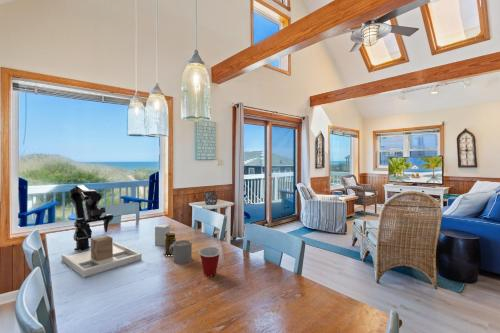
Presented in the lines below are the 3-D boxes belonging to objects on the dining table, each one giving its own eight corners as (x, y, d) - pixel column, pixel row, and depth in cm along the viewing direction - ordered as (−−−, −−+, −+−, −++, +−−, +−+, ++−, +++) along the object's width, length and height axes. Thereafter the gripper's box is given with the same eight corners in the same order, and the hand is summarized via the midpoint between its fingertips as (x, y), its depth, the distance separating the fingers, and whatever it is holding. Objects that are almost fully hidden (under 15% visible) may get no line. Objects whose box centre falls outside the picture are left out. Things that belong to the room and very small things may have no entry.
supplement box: (164, 246, 166) (164, 227, 166) (154, 245, 168) (154, 226, 167) (170, 242, 173) (170, 224, 173) (160, 242, 175) (160, 224, 175)
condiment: (175, 251, 158) (175, 232, 157) (177, 255, 150) (177, 235, 150) (163, 252, 155) (163, 233, 154) (165, 257, 147) (165, 237, 147)
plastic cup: (202, 281, 118) (202, 256, 117) (196, 272, 127) (196, 248, 127) (224, 276, 123) (224, 252, 122) (216, 268, 132) (216, 245, 132)
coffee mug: (195, 258, 145) (195, 241, 145) (182, 264, 136) (182, 246, 136) (178, 254, 152) (178, 237, 152) (165, 259, 143) (165, 242, 143)
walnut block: (90, 257, 142) (90, 238, 142) (105, 253, 149) (105, 234, 149) (97, 261, 137) (97, 241, 137) (112, 257, 143) (112, 237, 143)
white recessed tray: (61, 260, 142) (61, 254, 142) (114, 246, 165) (114, 241, 165) (84, 277, 121) (83, 270, 121) (141, 259, 144) (141, 253, 143)
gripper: (76, 205, 136) (81, 231, 131) (113, 201, 150) (119, 225, 145) (72, 214, 143) (76, 239, 137) (107, 209, 157) (113, 232, 151)
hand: (97, 234), depth 142 cm, fingers open, 9 cm apart
